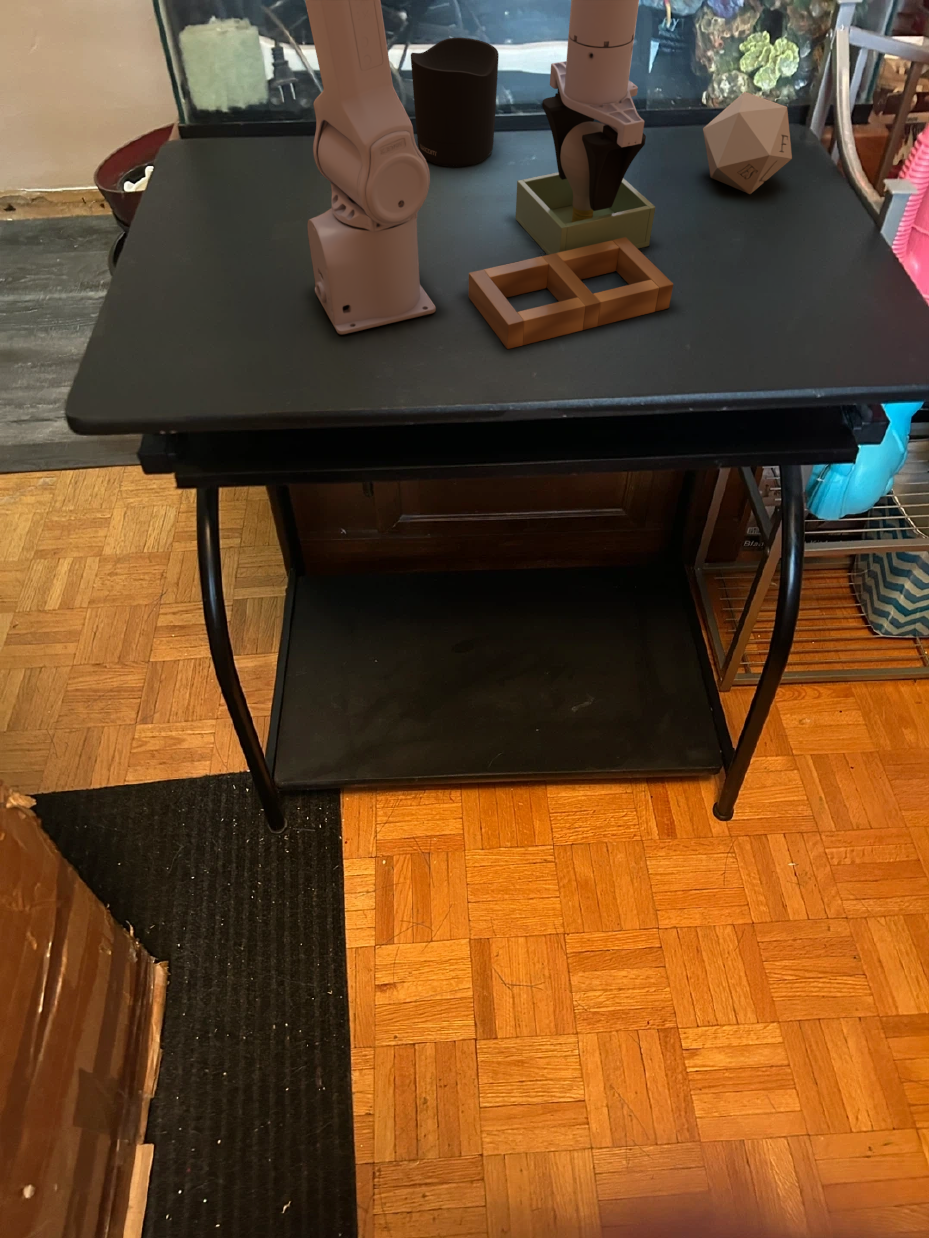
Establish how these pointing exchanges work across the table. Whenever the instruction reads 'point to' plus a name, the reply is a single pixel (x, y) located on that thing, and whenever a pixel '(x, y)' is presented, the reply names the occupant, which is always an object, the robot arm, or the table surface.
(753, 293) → the table surface
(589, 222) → the basin
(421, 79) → the pen holder
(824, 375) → the table surface
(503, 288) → the frame
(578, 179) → the light bulb
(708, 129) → the die
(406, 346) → the table surface
